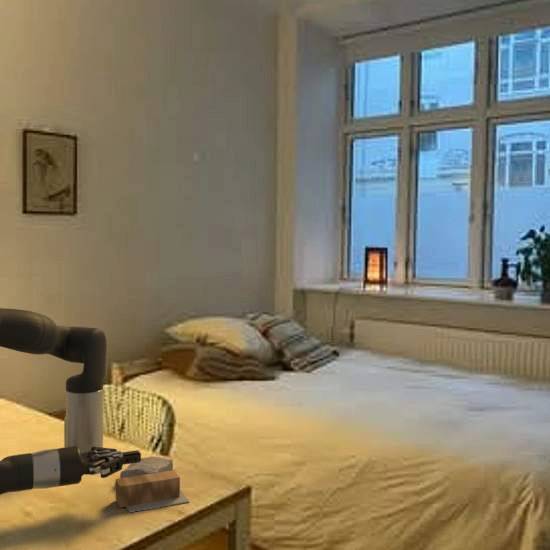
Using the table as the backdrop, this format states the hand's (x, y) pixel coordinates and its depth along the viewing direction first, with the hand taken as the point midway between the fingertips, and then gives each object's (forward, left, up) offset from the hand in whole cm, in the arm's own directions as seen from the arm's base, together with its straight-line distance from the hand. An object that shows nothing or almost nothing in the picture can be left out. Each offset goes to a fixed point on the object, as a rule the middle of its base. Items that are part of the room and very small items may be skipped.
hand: (139, 456), depth 137 cm
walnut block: (-2, -4, -7) cm, 9 cm away
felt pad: (+1, +3, -10) cm, 10 cm away
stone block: (-9, +9, -10) cm, 16 cm away
